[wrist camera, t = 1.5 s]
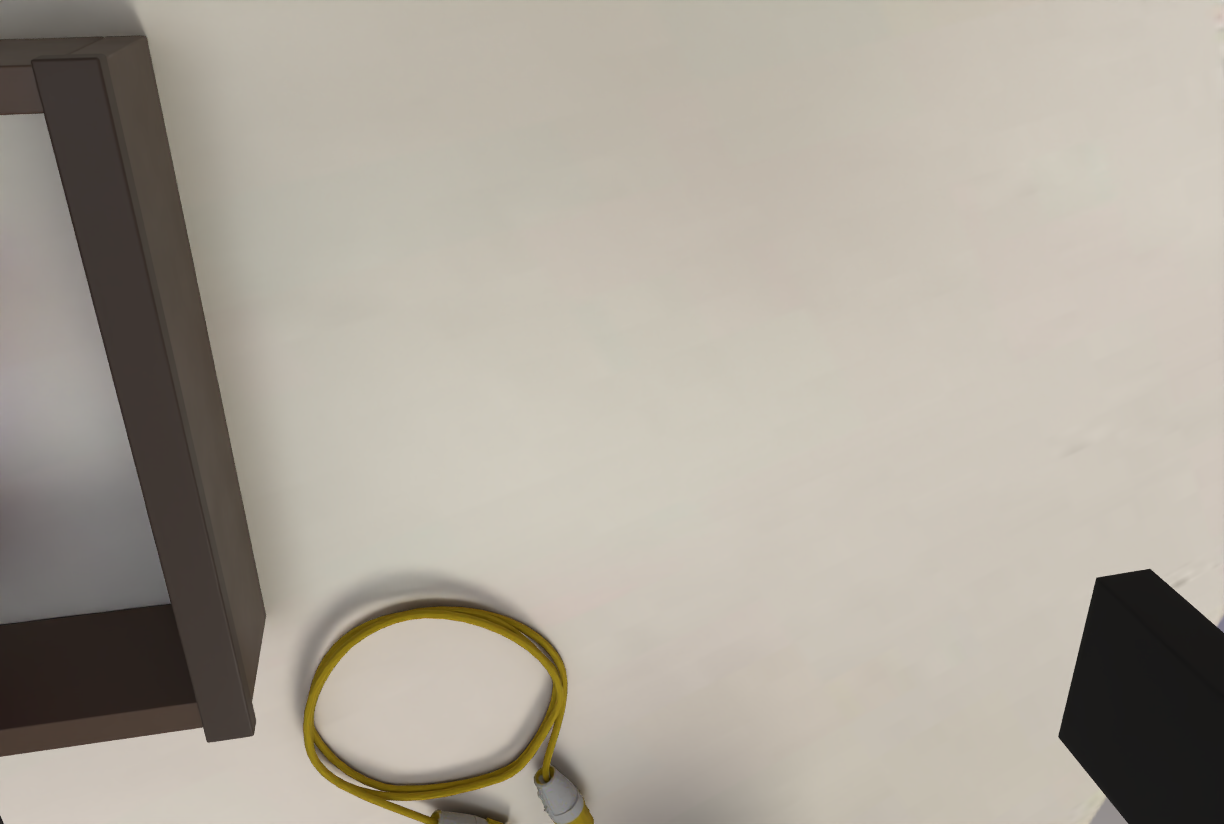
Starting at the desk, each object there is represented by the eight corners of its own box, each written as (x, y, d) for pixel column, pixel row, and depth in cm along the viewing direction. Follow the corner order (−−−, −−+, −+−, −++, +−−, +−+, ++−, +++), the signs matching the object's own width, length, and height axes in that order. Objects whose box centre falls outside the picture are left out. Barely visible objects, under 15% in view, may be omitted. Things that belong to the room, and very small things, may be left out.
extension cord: (345, 875, 48) (344, 911, 46) (274, 620, 41) (269, 652, 39) (591, 822, 50) (599, 856, 48) (565, 570, 43) (573, 598, 41)
